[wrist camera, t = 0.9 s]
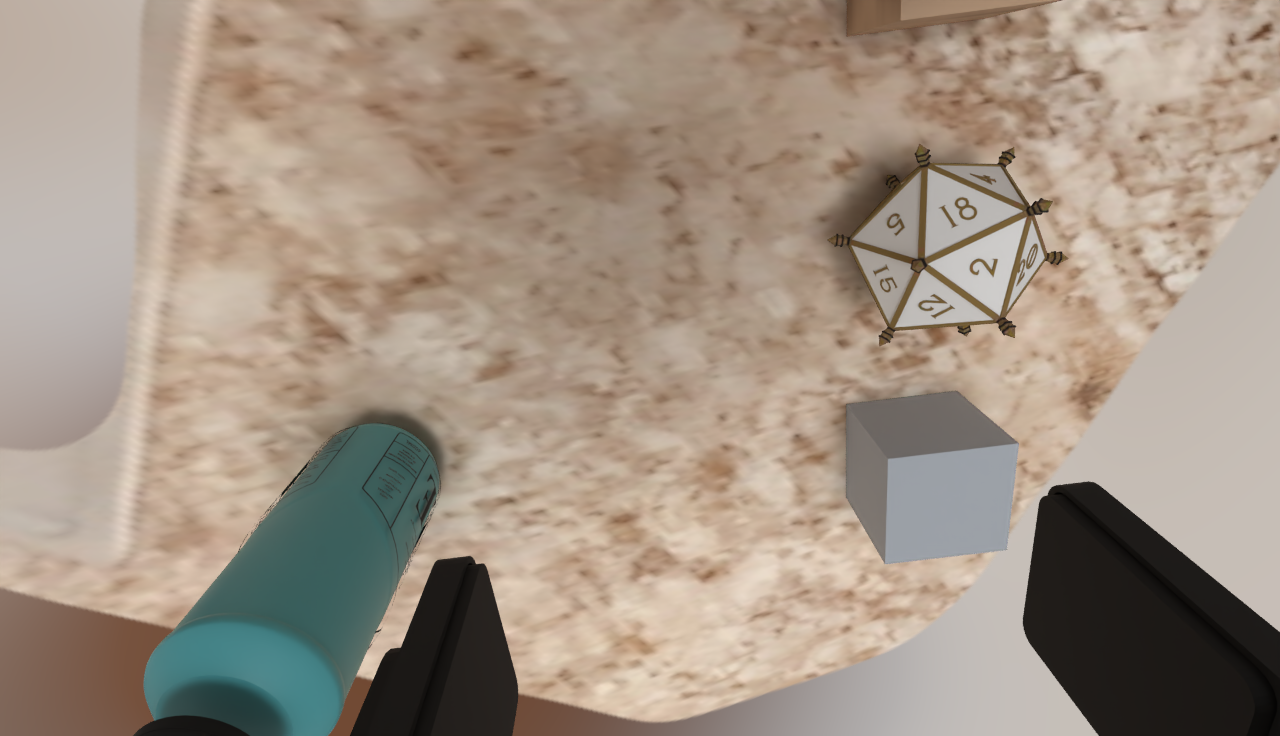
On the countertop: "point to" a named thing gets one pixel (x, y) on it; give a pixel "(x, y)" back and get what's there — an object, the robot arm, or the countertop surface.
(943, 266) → the game die
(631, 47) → the countertop surface
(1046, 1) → the walnut block
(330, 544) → the beverage bottle
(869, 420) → the slate block
